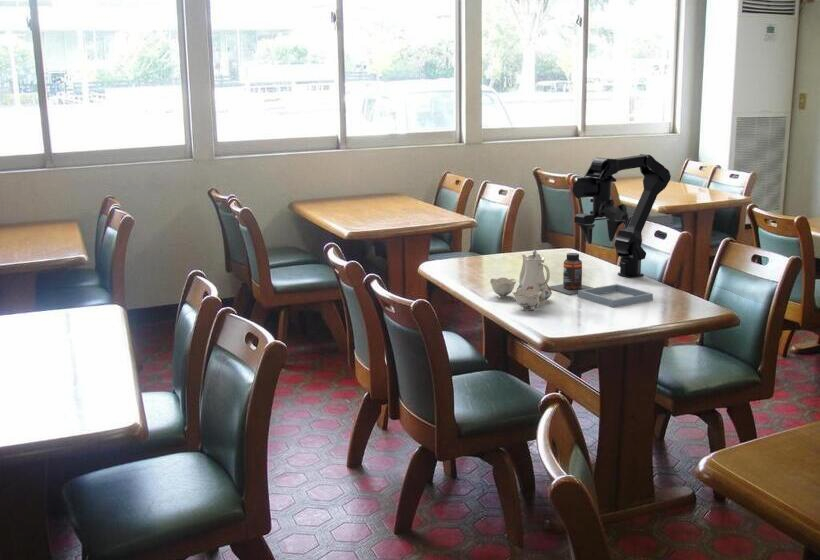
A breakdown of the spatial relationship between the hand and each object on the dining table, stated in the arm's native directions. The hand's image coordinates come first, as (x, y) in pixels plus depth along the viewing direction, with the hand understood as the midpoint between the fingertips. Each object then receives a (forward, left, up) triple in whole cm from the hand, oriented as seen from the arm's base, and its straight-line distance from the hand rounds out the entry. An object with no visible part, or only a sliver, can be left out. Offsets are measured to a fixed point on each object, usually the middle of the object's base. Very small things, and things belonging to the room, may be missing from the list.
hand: (600, 242), depth 300 cm
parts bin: (+13, +22, -13) cm, 29 cm away
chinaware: (+38, +10, -13) cm, 42 cm away
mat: (+16, +5, -13) cm, 21 cm away
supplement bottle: (+16, +5, -13) cm, 21 cm away
